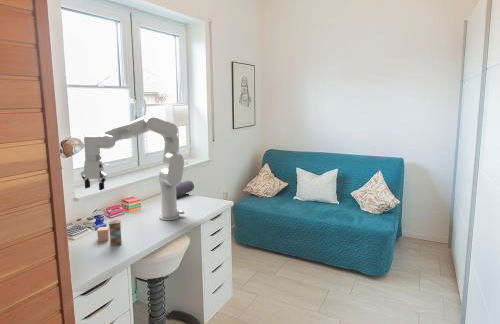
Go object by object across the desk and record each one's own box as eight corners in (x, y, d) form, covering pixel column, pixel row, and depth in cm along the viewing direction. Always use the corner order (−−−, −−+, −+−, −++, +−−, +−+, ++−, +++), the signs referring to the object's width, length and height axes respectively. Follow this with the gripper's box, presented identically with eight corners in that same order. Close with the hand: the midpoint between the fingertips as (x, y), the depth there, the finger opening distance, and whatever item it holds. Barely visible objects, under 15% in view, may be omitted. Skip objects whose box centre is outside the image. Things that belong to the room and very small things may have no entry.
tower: (121, 241, 192) (120, 219, 189) (120, 245, 187) (119, 222, 185) (111, 242, 190) (110, 220, 188) (110, 246, 185) (109, 223, 183)
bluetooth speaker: (185, 191, 291) (185, 179, 290) (194, 193, 287) (194, 180, 285) (165, 198, 272) (165, 185, 270) (175, 199, 268) (174, 186, 266)
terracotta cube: (109, 237, 197) (108, 226, 196) (108, 240, 193) (107, 229, 191) (99, 237, 196) (98, 227, 195) (98, 241, 191) (97, 230, 190)
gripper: (110, 158, 198) (112, 188, 201) (85, 156, 203) (87, 185, 206) (100, 160, 191) (102, 191, 194) (74, 158, 196) (77, 188, 199)
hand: (94, 188), depth 200 cm, fingers open, 9 cm apart
